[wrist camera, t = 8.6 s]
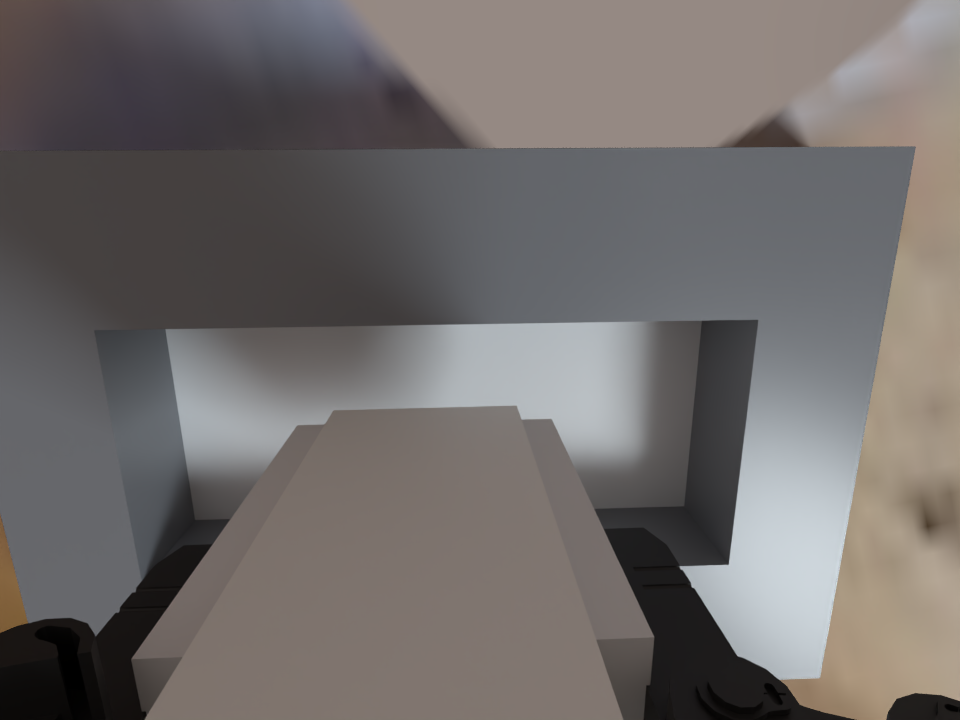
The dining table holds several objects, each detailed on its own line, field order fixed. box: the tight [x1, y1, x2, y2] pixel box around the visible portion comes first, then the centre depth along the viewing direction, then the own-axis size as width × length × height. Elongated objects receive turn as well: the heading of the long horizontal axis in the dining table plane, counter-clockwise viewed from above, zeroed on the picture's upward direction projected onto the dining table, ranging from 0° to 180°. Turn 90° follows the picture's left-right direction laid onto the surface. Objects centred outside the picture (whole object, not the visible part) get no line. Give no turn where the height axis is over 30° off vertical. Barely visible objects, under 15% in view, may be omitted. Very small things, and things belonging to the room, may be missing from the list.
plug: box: [145, 406, 623, 720], centre depth 9 cm, size 4×4×9 cm
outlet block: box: [0, 147, 916, 680], centre depth 15 cm, size 21×14×4 cm, turn 90°
